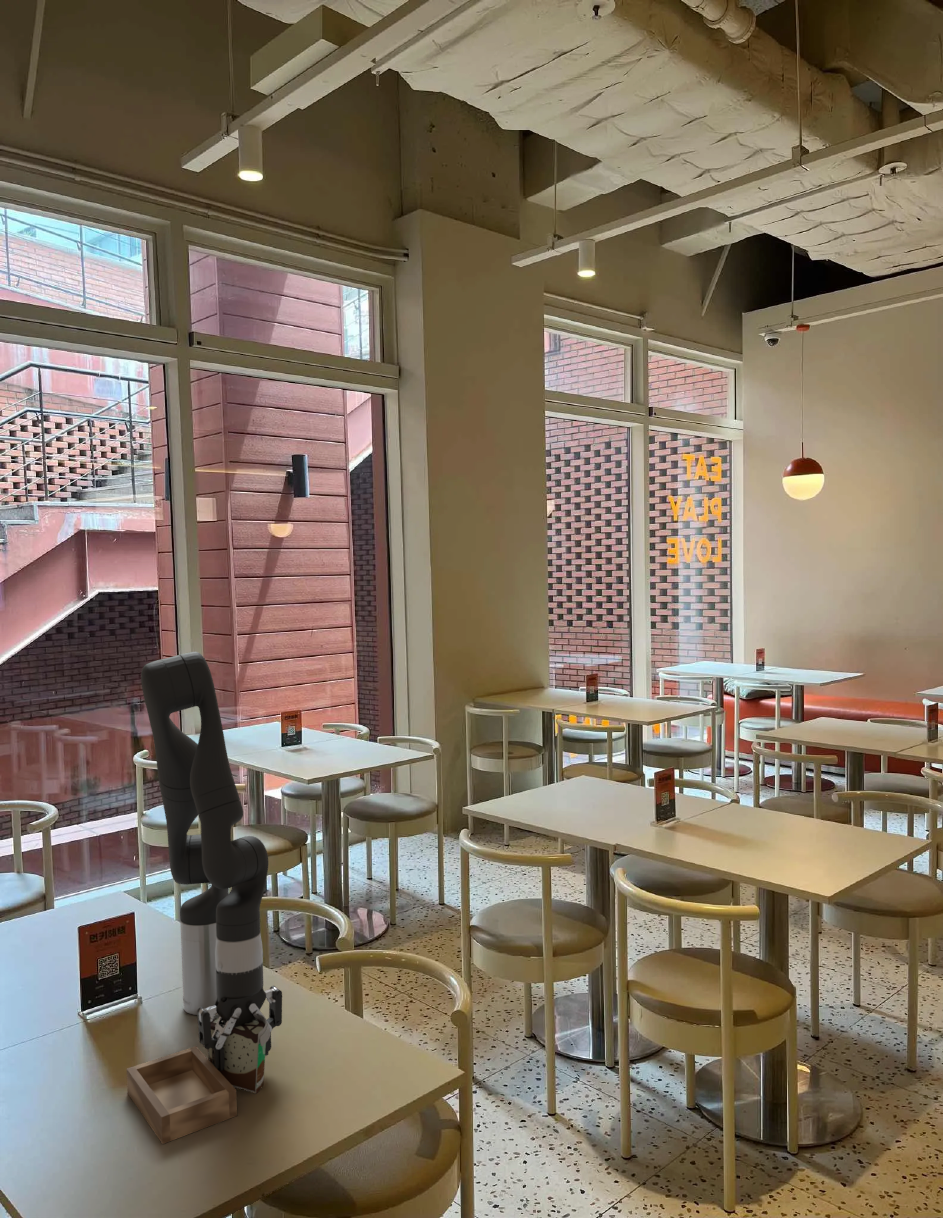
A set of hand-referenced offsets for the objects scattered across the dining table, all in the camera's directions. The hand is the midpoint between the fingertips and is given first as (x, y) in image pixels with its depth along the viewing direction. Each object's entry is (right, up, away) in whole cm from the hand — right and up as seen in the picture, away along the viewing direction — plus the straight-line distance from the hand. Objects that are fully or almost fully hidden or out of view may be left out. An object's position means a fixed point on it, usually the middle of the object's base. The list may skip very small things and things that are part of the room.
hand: (242, 1061), depth 152 cm
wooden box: (-8, -3, -7) cm, 11 cm away
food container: (0, -3, 0) cm, 3 cm away
